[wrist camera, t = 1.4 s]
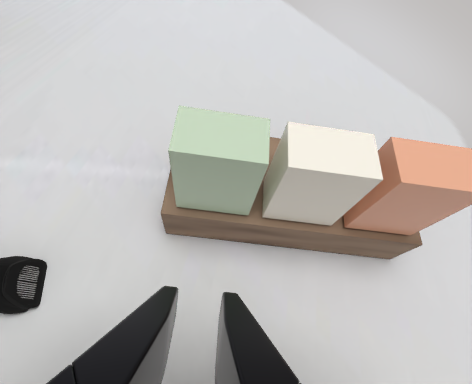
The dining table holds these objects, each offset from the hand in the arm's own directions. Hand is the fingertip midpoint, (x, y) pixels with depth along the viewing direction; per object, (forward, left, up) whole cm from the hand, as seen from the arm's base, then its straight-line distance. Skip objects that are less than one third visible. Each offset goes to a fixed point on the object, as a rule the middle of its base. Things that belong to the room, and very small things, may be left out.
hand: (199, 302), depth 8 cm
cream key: (+4, -9, -9) cm, 14 cm away
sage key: (+7, -4, -9) cm, 13 cm away
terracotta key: (+1, -15, -9) cm, 17 cm away
